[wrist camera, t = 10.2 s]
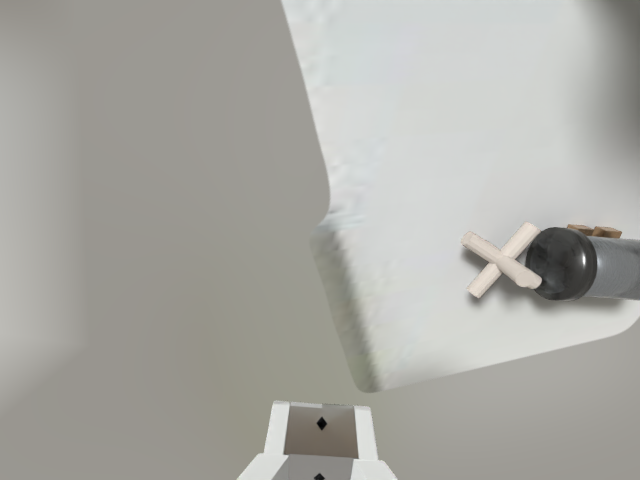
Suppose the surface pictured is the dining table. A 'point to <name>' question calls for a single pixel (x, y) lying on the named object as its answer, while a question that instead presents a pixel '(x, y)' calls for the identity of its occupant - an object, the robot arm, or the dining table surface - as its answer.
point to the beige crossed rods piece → (502, 260)
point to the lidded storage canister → (585, 263)
